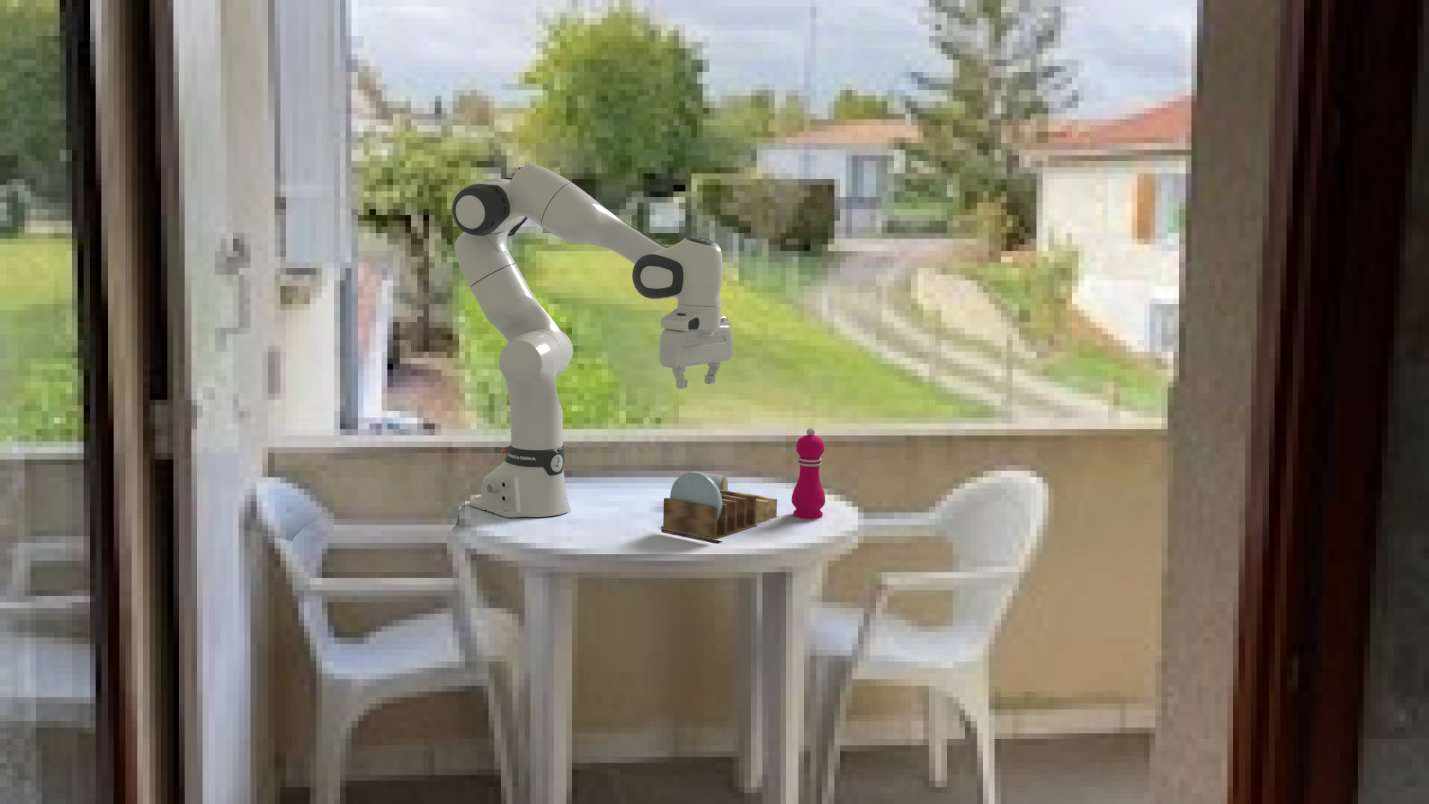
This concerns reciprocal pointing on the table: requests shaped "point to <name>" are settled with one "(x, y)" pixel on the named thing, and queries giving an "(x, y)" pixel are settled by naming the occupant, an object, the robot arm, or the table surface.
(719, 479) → the ceramic mug
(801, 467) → the pepper mill
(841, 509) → the table surface
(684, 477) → the plate
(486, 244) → the robot arm
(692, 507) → the dish rack
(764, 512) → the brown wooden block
